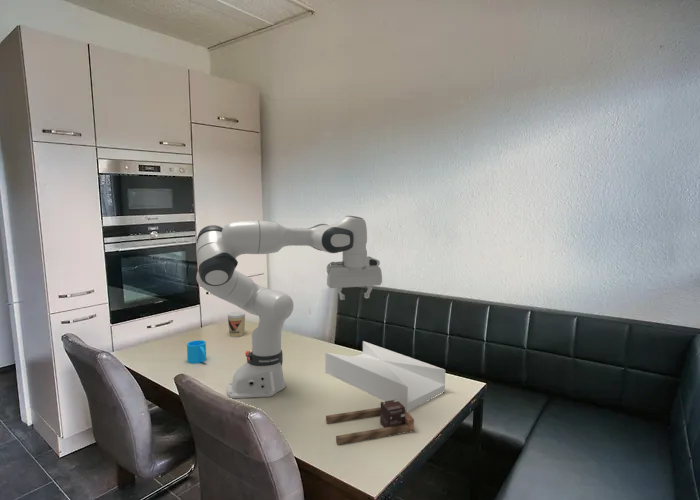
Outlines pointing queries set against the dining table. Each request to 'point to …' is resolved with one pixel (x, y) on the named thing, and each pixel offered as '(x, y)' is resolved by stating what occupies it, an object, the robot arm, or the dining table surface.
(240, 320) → the coffee cup
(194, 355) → the mug
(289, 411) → the dining table surface
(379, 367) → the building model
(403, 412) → the box
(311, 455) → the dining table surface
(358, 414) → the guide channel
